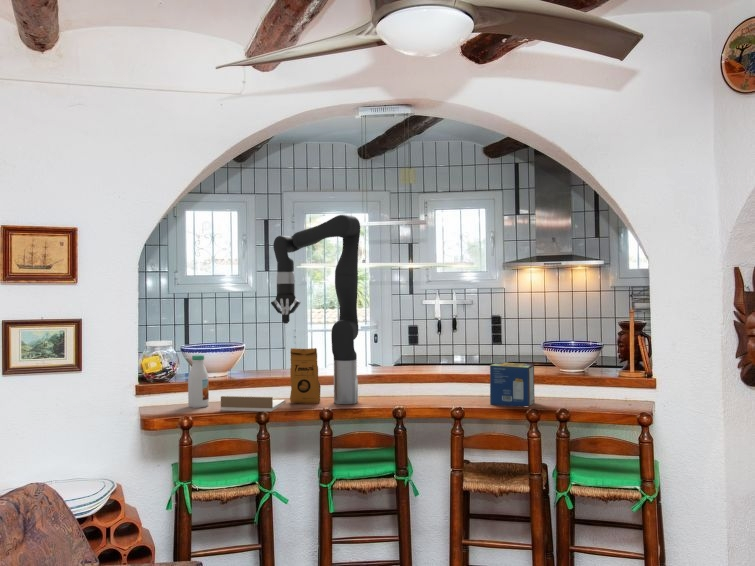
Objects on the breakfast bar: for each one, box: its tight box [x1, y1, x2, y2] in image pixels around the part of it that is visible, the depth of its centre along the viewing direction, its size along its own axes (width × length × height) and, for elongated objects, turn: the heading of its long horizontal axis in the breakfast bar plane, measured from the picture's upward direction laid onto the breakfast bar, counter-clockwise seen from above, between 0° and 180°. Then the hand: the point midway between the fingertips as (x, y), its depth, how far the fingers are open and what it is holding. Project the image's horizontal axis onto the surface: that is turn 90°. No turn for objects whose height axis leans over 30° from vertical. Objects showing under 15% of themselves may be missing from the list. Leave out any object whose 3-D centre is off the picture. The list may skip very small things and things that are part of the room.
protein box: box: [489, 361, 536, 407], centre depth 258 cm, size 10×15×16 cm
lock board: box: [220, 395, 286, 412], centre depth 255 cm, size 20×18×5 cm
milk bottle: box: [187, 354, 210, 409], centre depth 257 cm, size 8×8×20 cm
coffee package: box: [289, 347, 322, 405], centre depth 263 cm, size 10×12×22 cm
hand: (285, 323), depth 278 cm, fingers closed
